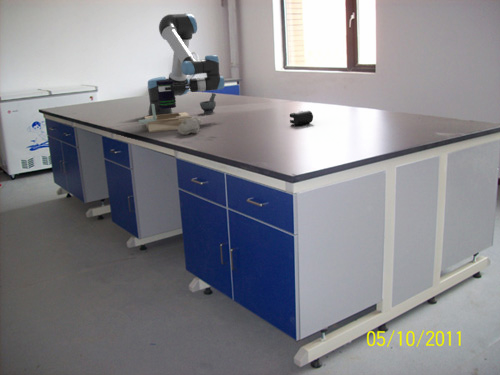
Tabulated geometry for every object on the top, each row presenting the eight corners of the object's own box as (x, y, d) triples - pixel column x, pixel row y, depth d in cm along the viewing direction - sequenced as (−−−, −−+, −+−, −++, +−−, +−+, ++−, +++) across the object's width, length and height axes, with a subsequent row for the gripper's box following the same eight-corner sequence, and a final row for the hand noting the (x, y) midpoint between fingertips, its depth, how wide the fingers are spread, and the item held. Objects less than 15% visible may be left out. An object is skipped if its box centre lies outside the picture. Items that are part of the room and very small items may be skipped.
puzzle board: (145, 124, 296) (144, 115, 294) (186, 119, 301) (185, 110, 300) (149, 132, 268) (148, 122, 266) (194, 127, 274) (193, 117, 272)
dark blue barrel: (155, 108, 286) (152, 81, 282) (164, 106, 295) (161, 79, 291) (170, 108, 283) (167, 81, 278) (179, 106, 291) (176, 79, 287)
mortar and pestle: (205, 114, 317) (203, 95, 314) (198, 113, 325) (196, 94, 321) (221, 112, 323) (219, 92, 320) (213, 110, 330) (211, 92, 327)
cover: (138, 121, 276) (136, 105, 273) (155, 119, 278) (153, 103, 275) (139, 123, 267) (137, 107, 265) (156, 121, 270) (154, 105, 267)
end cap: (298, 127, 253) (298, 113, 251) (289, 126, 259) (288, 112, 257) (313, 124, 259) (313, 111, 257) (304, 123, 264) (303, 109, 262)
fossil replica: (174, 135, 255) (190, 138, 250) (172, 119, 252) (188, 122, 247) (189, 129, 264) (204, 131, 259) (187, 113, 261) (203, 115, 256)
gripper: (201, 93, 281) (160, 97, 275) (194, 89, 301) (156, 93, 296) (199, 79, 278) (158, 83, 273) (193, 76, 299) (155, 79, 294)
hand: (157, 88), depth 285 cm, fingers closed on dark blue barrel, 10 cm apart
